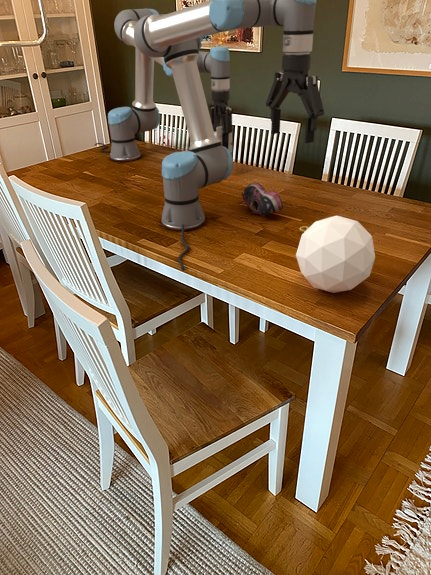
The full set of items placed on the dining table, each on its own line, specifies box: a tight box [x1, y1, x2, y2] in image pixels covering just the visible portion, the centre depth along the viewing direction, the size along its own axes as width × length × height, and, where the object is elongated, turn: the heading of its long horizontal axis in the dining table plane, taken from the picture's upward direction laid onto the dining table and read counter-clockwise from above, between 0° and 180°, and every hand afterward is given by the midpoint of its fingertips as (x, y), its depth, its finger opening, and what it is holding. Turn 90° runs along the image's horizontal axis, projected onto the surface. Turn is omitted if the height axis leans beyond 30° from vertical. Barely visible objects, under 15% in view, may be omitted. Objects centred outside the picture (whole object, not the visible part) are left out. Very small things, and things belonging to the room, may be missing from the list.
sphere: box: [295, 215, 376, 294], centre depth 113 cm, size 19×20×20 cm
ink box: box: [214, 125, 233, 157], centre depth 191 cm, size 9×5×15 cm, turn 125°
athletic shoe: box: [238, 182, 284, 217], centre depth 160 cm, size 11×22×12 cm
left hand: (221, 147), depth 193 cm, fingers closed on ink box, 5 cm apart
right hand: (291, 137), depth 125 cm, fingers open, 13 cm apart
